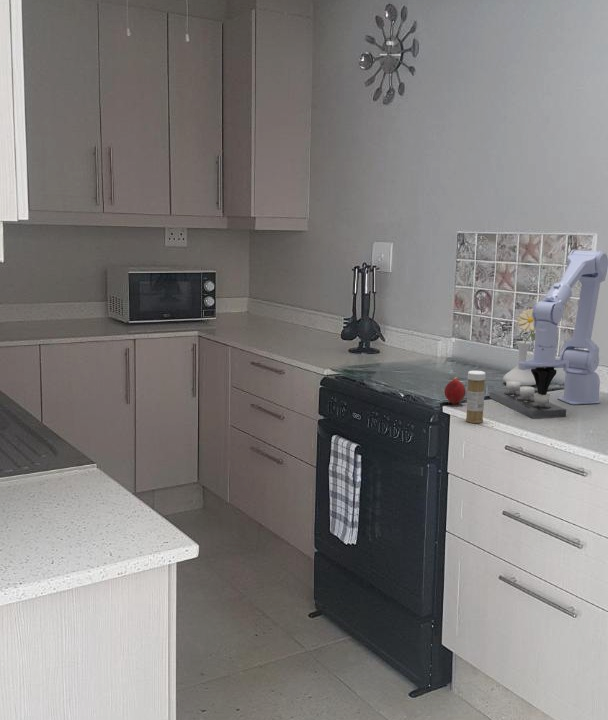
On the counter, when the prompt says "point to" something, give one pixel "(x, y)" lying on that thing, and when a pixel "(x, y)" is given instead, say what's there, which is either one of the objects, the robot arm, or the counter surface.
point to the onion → (455, 391)
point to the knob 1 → (513, 386)
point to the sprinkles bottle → (475, 396)
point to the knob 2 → (541, 399)
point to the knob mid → (527, 392)
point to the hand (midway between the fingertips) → (542, 394)
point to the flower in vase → (523, 351)
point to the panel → (527, 405)
